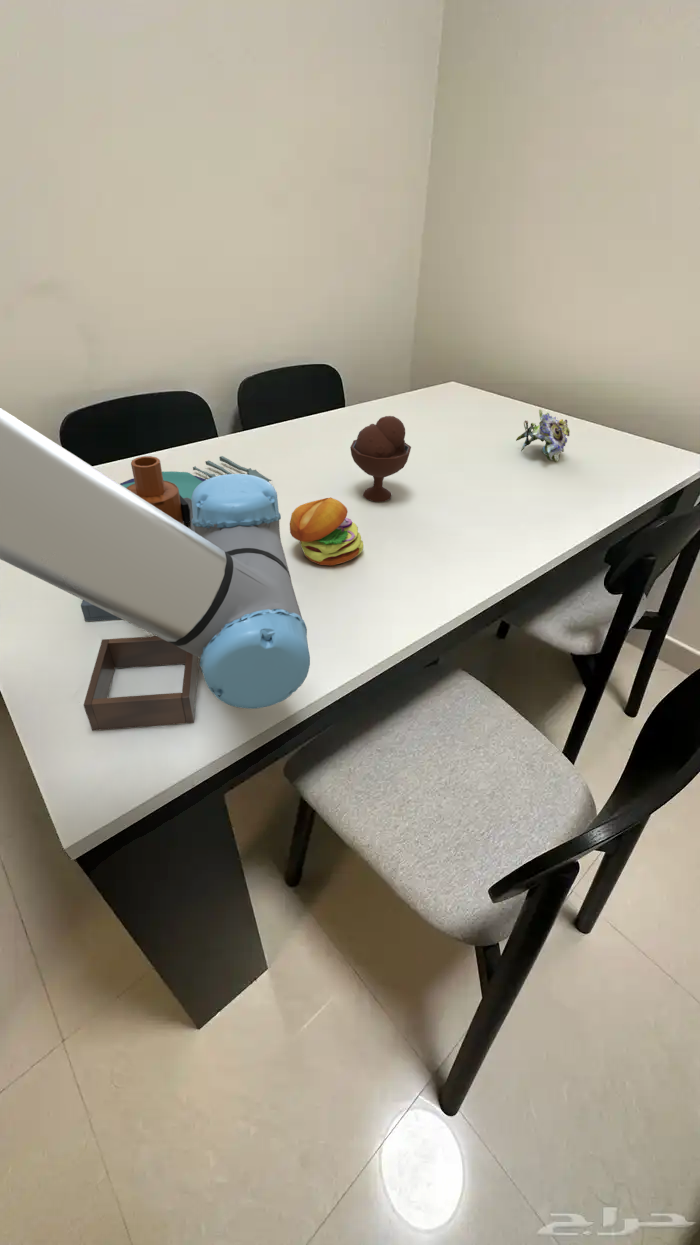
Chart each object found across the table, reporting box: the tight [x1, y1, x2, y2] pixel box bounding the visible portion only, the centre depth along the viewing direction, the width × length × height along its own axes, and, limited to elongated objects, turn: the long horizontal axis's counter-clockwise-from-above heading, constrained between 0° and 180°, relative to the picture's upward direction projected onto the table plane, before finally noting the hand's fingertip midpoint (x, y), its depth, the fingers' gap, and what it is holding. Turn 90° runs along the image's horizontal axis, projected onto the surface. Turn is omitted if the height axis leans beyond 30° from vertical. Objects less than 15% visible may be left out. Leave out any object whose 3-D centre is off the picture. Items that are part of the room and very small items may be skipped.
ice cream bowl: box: [349, 415, 412, 503], centre depth 105 cm, size 11×11×15 cm
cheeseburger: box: [289, 497, 364, 566], centre depth 90 cm, size 10×11×10 cm
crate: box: [83, 635, 200, 731], centre depth 66 cm, size 11×11×4 cm
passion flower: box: [515, 409, 571, 463], centre depth 128 cm, size 11×11×12 cm
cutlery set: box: [119, 455, 273, 523], centre depth 105 cm, size 20×30×2 cm, turn 139°
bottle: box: [127, 455, 185, 526], centre depth 78 cm, size 7×7×17 cm
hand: (143, 500), depth 80 cm, fingers closed on bottle, 7 cm apart
